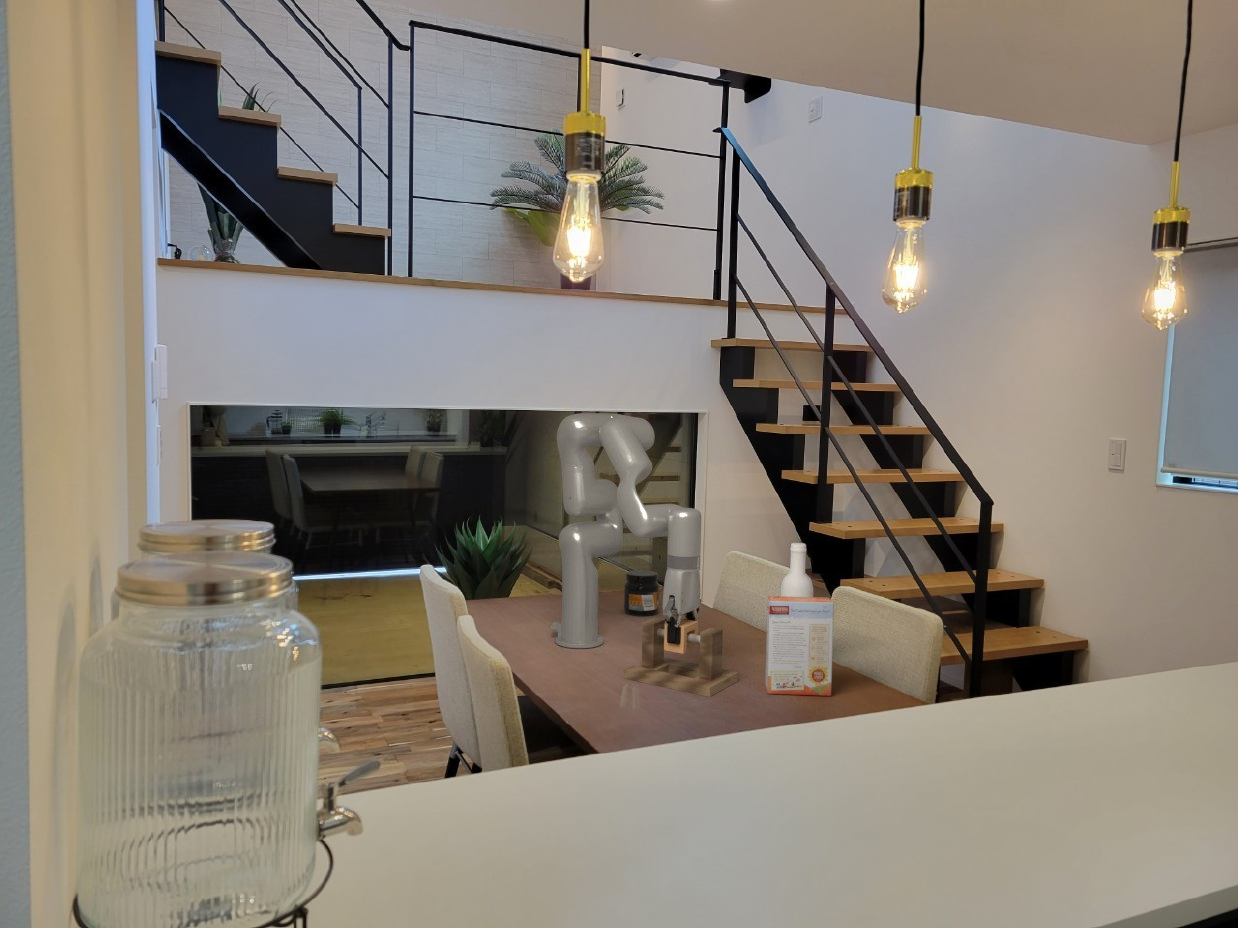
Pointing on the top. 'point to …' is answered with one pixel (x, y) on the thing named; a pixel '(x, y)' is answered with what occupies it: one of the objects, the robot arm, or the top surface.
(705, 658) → the tan frame
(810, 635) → the cracker box
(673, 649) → the notched block
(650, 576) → the supplement container
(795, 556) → the bottle
